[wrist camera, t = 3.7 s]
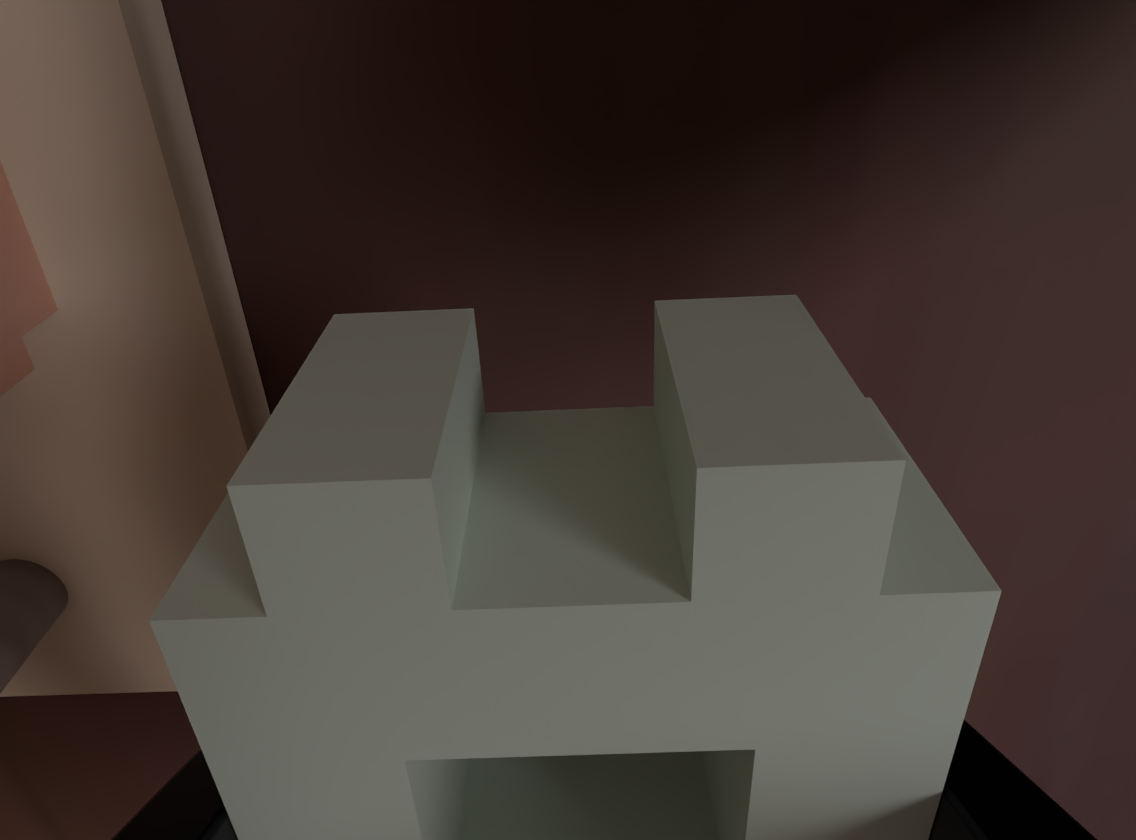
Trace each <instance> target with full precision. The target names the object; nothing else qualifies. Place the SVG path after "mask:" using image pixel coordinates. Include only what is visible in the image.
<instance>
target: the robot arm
mask: <svg viewBox="0 0 1136 840" xmlns="http://www.w3.org/2000/svg"><path fill="white" fill-rule="evenodd" d="M111 840H238V838H237V835H236V833H235V830H234V828H233V825H232V823H231V821H230V818H229V816H228V813H227V811H226V808H225V806H224V803H223V801H222V799H221V796H220V794H219V791H218V789H217V786H216V784H215V781H214V779H213V776H212V774H211V772H210V769H209V767H208V764H207V762H206V759H205V757H204V754H203V752H202V750H201V749H200V750H199V751H198V752H197V753H196V754H195V755H194V756H193V757H192V758H191V759H190V760H189V761H188V762H187V763H186V764H185V765H184V766H183V767H182V768H181V769H180V770H179V771H178V772H177V773H176V774H175V775H174V776H173V777H172V778H171V779H170V780H169V781H168V782H167V783H166V784H165V785H164V786H163V787H162V788H161V789H160V790H159V791H158V792H157V793H156V794H155V795H154V796H153V797H152V798H151V799H150V800H149V801H148V802H147V803H146V804H145V805H144V806H143V807H142V808H141V809H140V810H139V811H138V812H137V813H136V815H135V816H134V817H133V818H132V819H131V820H130V821H129V822H128V823H127V824H126V825H125V826H124V827H123V828H122V829H121V830H120V831H119V832H118V833H117V834H116V835H115V836H114V837H113V838H112V839H111ZM928 840H1097V839H1096V838H1095V837H1094V836H1093V835H1092V834H1090V833H1089V832H1088V831H1087V830H1086V829H1085V828H1084V827H1083V826H1082V825H1080V824H1079V823H1078V822H1077V821H1076V820H1075V819H1074V818H1073V817H1072V816H1070V815H1069V814H1068V813H1067V812H1066V811H1065V810H1064V809H1063V808H1062V807H1060V806H1059V805H1058V804H1057V803H1056V802H1055V801H1054V800H1053V799H1052V798H1050V797H1049V796H1048V795H1047V794H1046V793H1045V792H1044V791H1043V790H1042V789H1041V788H1039V787H1038V786H1037V785H1036V784H1035V783H1034V782H1033V781H1032V780H1031V779H1029V778H1028V777H1027V776H1026V775H1025V774H1024V773H1023V772H1022V771H1021V770H1019V769H1018V768H1017V767H1016V766H1015V765H1014V764H1013V763H1012V762H1011V761H1009V760H1008V759H1007V758H1006V757H1005V756H1004V755H1003V754H1002V753H1001V752H999V751H998V750H997V749H996V748H995V747H994V746H993V745H992V744H991V743H990V742H988V741H987V740H986V739H985V738H984V737H983V736H982V735H981V734H980V733H978V732H977V731H976V730H975V729H974V728H973V727H972V726H971V725H970V724H968V723H967V722H966V721H965V720H963V723H962V727H961V730H960V734H959V737H958V740H957V744H956V747H955V751H954V754H953V757H952V761H951V764H950V768H949V771H948V774H947V778H946V781H945V784H944V788H943V791H942V795H941V798H940V801H939V805H938V808H937V812H936V815H935V818H934V822H933V825H932V829H931V832H930V835H929V839H928Z"/></svg>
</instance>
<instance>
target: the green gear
mask: <svg viewBox="0 0 1136 840" xmlns="http://www.w3.org/2000/svg"><path fill="white" fill-rule="evenodd" d="M226 487H227V490H228V494H227V495H226V497H225V498H224V500H223V502H222V503H221V505H220V507H219V508H218V510H217V511H216V513H215V515H214V516H213V518H212V520H211V521H210V523H209V524H208V526H207V528H206V529H205V531H204V532H203V534H202V536H201V537H200V539H199V541H198V542H197V544H196V545H195V547H194V549H193V550H192V552H191V554H190V555H189V557H188V558H187V560H186V562H185V563H184V565H183V567H182V568H181V570H180V571H179V573H178V575H177V576H176V578H175V580H174V581H173V583H172V584H171V586H170V588H169V589H168V591H167V592H166V594H165V596H164V597H163V599H162V601H161V602H160V604H159V605H158V607H157V609H156V610H155V612H154V614H153V615H152V617H151V618H150V620H149V622H150V625H151V627H152V630H153V632H154V635H155V637H156V639H157V642H158V644H159V647H160V649H161V652H162V654H163V657H164V659H165V661H166V664H167V666H168V669H169V671H170V674H171V676H172V679H173V681H174V683H175V686H176V688H177V691H178V693H179V696H180V698H181V701H182V703H183V706H184V708H185V710H186V713H187V715H188V718H189V720H190V723H191V725H192V728H193V730H194V732H195V735H196V737H197V740H198V742H199V745H200V747H201V750H202V752H203V754H204V757H205V759H206V762H207V764H208V767H209V769H210V772H211V774H212V776H213V779H214V781H215V784H216V786H217V789H218V791H219V794H220V796H221V799H222V801H223V803H224V806H225V808H226V811H227V813H228V816H229V818H230V821H231V823H232V825H233V828H234V830H235V833H236V835H237V838H238V840H928V839H929V835H930V832H931V829H932V825H933V822H934V818H935V815H936V812H937V808H938V805H939V801H940V798H941V795H942V791H943V788H944V784H945V781H946V778H947V774H948V771H949V768H950V764H951V761H952V757H953V754H954V751H955V747H956V744H957V740H958V737H959V734H960V730H961V727H962V723H963V720H964V717H965V713H966V710H967V706H968V703H969V700H970V696H971V693H972V690H973V686H974V683H975V679H976V676H977V673H978V669H979V666H980V662H981V659H982V656H983V652H984V649H985V645H986V642H987V639H988V635H989V632H990V628H991V625H992V622H993V618H994V615H995V612H996V608H997V605H998V601H999V598H1000V595H1001V589H1000V588H999V586H998V585H997V584H996V582H995V581H994V579H993V578H992V576H991V575H990V573H989V572H988V570H987V569H986V567H985V566H984V564H983V563H982V561H981V560H980V558H979V557H978V555H977V554H976V553H975V551H974V550H973V548H972V547H971V545H970V544H969V542H968V541H967V539H966V538H965V536H964V535H963V533H962V532H961V530H960V529H959V527H958V526H957V524H956V523H955V522H954V520H953V519H952V517H951V516H950V514H949V513H948V511H947V510H946V508H945V507H944V505H943V504H942V502H941V501H940V499H939V498H938V496H937V495H936V493H935V492H934V491H933V489H932V488H931V486H930V485H929V483H928V482H927V480H926V479H925V477H924V476H923V474H922V473H921V471H920V470H919V468H918V467H917V465H916V464H915V462H914V461H913V460H912V458H911V457H910V455H909V454H908V452H907V451H906V449H905V448H904V446H903V445H902V443H901V442H900V440H899V439H898V437H897V436H896V434H895V433H894V431H893V430H892V429H891V427H890V426H889V424H888V423H887V421H886V420H885V418H884V417H883V415H882V414H881V412H880V411H879V409H878V408H877V406H876V405H875V403H874V402H873V400H872V399H871V398H865V397H864V396H863V394H862V393H861V391H860V390H859V388H858V387H857V385H856V384H855V382H854V381H853V379H852V378H851V376H850V375H849V373H848V372H847V370H846V369H845V367H844V366H843V364H842V363H841V361H840V360H839V358H838V357H837V355H836V354H835V352H834V351H833V349H832V348H831V346H830V345H829V343H828V342H827V340H826V339H825V337H824V336H823V334H822V333H821V331H820V330H819V328H818V327H817V325H816V324H815V322H814V321H813V319H812V318H811V316H810V315H809V313H808V312H807V310H806V309H805V307H804V306H803V304H802V303H801V301H800V300H799V298H798V297H797V295H778V296H754V297H731V298H707V299H683V300H660V301H655V307H654V405H653V406H645V407H620V408H595V409H570V410H545V411H520V412H495V413H485V407H484V397H483V388H482V379H481V370H480V361H479V352H478V343H477V333H476V324H475V315H474V308H470V309H447V310H423V311H399V312H376V313H352V314H334V315H333V317H332V319H331V320H330V322H329V323H328V325H327V327H326V328H325V330H324V331H323V333H322V334H321V336H320V338H319V339H318V341H317V342H316V344H315V346H314V347H313V349H312V350H311V352H310V354H309V355H308V357H307V358H306V360H305V362H304V363H303V365H302V366H301V368H300V370H299V371H298V373H297V374H296V376H295V378H294V379H293V381H292V382H291V384H290V385H289V387H288V389H287V390H286V392H285V393H284V395H283V397H282V398H281V400H280V401H279V403H278V405H277V406H276V408H275V409H274V411H273V413H272V414H271V416H270V417H269V419H268V421H267V422H266V424H265V425H264V427H263V429H262V430H261V432H260V433H259V435H258V436H257V438H256V440H255V441H254V443H253V444H252V446H251V448H250V449H249V451H248V452H247V454H246V456H245V457H244V459H243V460H242V462H241V464H240V465H239V467H238V468H237V470H236V472H235V473H234V475H233V476H232V478H231V480H230V481H229V483H228V484H227V486H226Z"/></svg>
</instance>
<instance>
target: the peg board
mask: <svg viewBox="0 0 1136 840" xmlns="http://www.w3.org/2000/svg"><path fill="white" fill-rule="evenodd" d="M0 161H1V164H2V166H3V169H4V171H5V174H6V177H7V179H8V182H9V184H10V187H11V189H12V192H13V195H14V197H15V200H16V202H17V205H18V208H19V210H20V213H21V215H22V218H23V220H24V223H25V226H26V228H27V231H28V233H29V236H30V239H31V241H32V244H33V246H34V249H35V252H36V254H37V257H38V259H39V262H40V264H41V267H42V270H43V272H44V275H45V277H46V280H47V283H48V285H49V288H50V290H51V293H52V295H53V298H54V301H55V303H56V306H57V308H58V310H57V311H56V312H55V313H53V314H52V315H50V316H49V317H48V318H46V319H45V320H43V321H42V322H41V323H39V324H38V325H37V326H35V327H34V328H32V329H31V330H30V331H28V332H27V333H25V334H24V335H23V336H21V337H22V339H23V342H24V344H25V346H26V349H27V351H28V354H29V356H30V358H31V361H32V363H33V366H34V368H35V369H34V370H33V371H32V372H30V373H29V374H28V375H27V376H25V377H24V378H23V379H22V380H20V381H19V382H18V383H17V384H15V385H14V386H13V387H12V388H10V389H9V390H8V391H7V392H5V393H4V394H3V395H2V396H0V697H7V696H39V695H71V694H102V693H134V692H166V691H177V688H176V686H175V683H174V681H173V679H172V676H171V674H170V671H169V669H168V666H167V664H166V661H165V659H164V657H163V654H162V652H161V649H160V647H159V644H158V642H157V639H156V637H155V635H154V632H153V630H152V627H151V625H150V622H149V620H150V618H151V617H152V615H153V614H154V612H155V610H156V609H157V607H158V605H159V604H160V602H161V601H162V599H163V597H164V596H165V594H166V592H167V591H168V589H169V588H170V586H171V584H172V583H173V581H174V580H175V578H176V576H177V575H178V573H179V571H180V570H181V568H182V567H183V565H184V563H185V562H186V560H187V558H188V557H189V555H190V554H191V552H192V550H193V549H194V547H195V545H196V544H197V542H198V541H199V539H200V537H201V536H202V534H203V532H204V531H205V529H206V528H207V526H208V524H209V523H210V521H211V520H212V518H213V516H214V515H215V513H216V511H217V510H218V508H219V507H220V505H221V503H222V502H223V500H224V498H225V497H226V495H227V494H228V490H227V487H226V486H227V484H228V483H229V481H230V480H231V478H232V476H233V475H234V473H235V472H236V470H237V468H238V467H239V465H240V464H241V462H242V460H243V459H244V457H245V456H246V454H247V452H248V451H249V449H250V448H251V446H252V444H253V443H254V441H255V440H256V438H257V436H258V435H259V433H260V432H261V430H262V429H263V427H264V425H265V424H266V422H267V421H268V419H269V417H270V416H271V415H270V412H269V408H268V404H267V400H266V396H265V393H264V389H263V385H262V381H261V377H260V374H259V370H258V366H257V362H256V358H255V355H254V351H253V347H252V343H251V340H250V336H249V332H248V328H247V324H246V321H245V317H244V313H243V309H242V305H241V302H240V298H239V294H238V290H237V286H236V283H235V279H234V275H233V271H232V268H231V264H230V260H229V256H228V252H227V249H226V245H225V241H224V237H223V233H222V230H221V226H220V222H219V218H218V215H217V211H216V207H215V203H214V199H213V196H212V192H211V188H210V184H209V180H208V177H207V173H206V169H205V165H204V161H203V158H202V154H201V150H200V146H199V143H198V139H197V135H196V131H195V127H194V124H193V120H192V116H191V112H190V108H189V105H188V101H187V97H186V93H185V89H184V86H183V82H182V78H181V74H180V71H179V67H178V63H177V59H176V55H175V52H174V48H173V44H172V40H171V36H170V33H169V29H168V25H167V21H166V17H165V14H164V10H163V6H162V2H161V0H0Z"/></svg>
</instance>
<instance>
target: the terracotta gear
mask: <svg viewBox="0 0 1136 840" xmlns="http://www.w3.org/2000/svg"><path fill="white" fill-rule="evenodd" d="M57 310H58V308H57V306H56V303H55V301H54V298H53V295H52V293H51V290H50V288H49V285H48V283H47V280H46V277H45V275H44V272H43V270H42V267H41V264H40V262H39V259H38V257H37V254H36V252H35V249H34V246H33V244H32V241H31V239H30V236H29V233H28V231H27V228H26V226H25V223H24V220H23V218H22V215H21V213H20V210H19V208H18V205H17V202H16V200H15V197H14V195H13V192H12V189H11V187H10V184H9V182H8V179H7V177H6V174H5V171H4V169H3V166H2V164H1V161H0V396H2V395H3V394H4V393H5V392H7V391H8V390H9V389H10V388H12V387H13V386H14V385H15V384H17V383H18V382H19V381H20V380H22V379H23V378H24V377H25V376H27V375H28V374H29V373H30V372H32V371H33V370H34V369H35V368H34V366H33V363H32V361H31V358H30V356H29V354H28V351H27V349H26V346H25V344H24V342H23V339H22V337H21V336H23V335H24V334H25V333H27V332H28V331H30V330H31V329H32V328H34V327H35V326H37V325H38V324H39V323H41V322H42V321H43V320H45V319H46V318H48V317H49V316H50V315H52V314H53V313H55V312H56V311H57Z"/></svg>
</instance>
